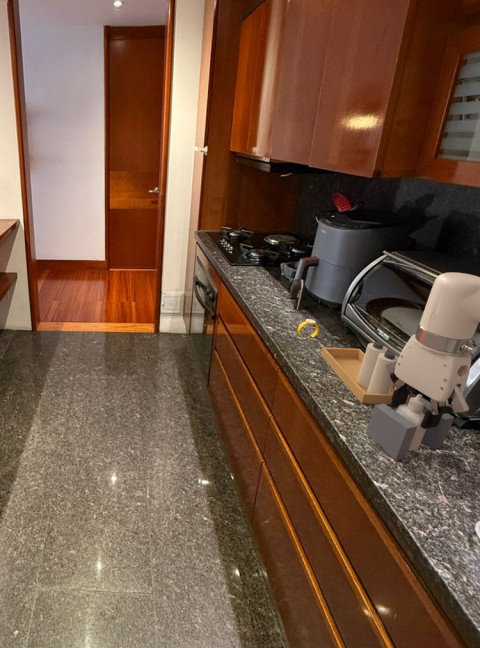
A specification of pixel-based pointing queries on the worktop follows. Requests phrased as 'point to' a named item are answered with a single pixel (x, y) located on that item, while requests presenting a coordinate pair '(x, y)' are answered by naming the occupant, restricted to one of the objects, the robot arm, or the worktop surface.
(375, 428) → the grey rectangular blocks
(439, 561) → the worktop surface
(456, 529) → the worktop surface
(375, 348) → the white bottles
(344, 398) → the worktop surface
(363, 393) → the tray
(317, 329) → the watch
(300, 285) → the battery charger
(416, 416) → the eye dropper bottle
